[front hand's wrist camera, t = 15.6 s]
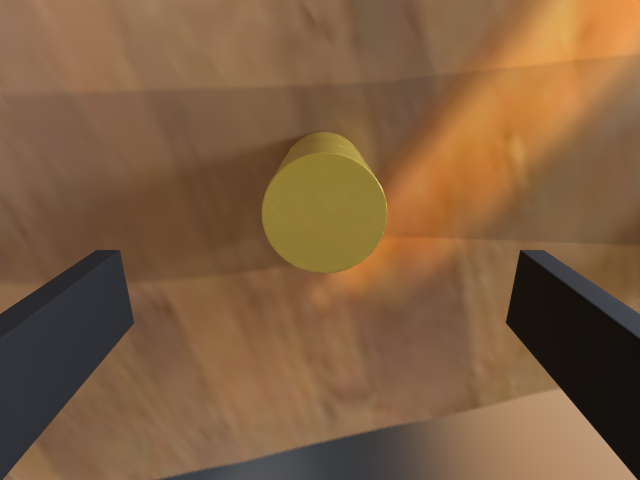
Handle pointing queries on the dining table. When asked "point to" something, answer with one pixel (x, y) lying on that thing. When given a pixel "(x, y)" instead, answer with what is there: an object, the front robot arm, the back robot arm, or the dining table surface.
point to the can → (324, 205)
